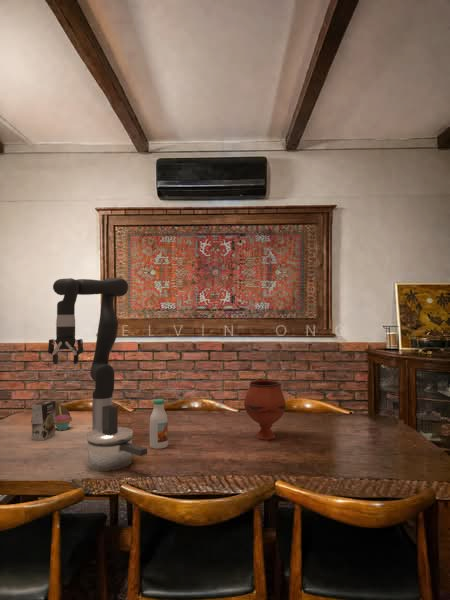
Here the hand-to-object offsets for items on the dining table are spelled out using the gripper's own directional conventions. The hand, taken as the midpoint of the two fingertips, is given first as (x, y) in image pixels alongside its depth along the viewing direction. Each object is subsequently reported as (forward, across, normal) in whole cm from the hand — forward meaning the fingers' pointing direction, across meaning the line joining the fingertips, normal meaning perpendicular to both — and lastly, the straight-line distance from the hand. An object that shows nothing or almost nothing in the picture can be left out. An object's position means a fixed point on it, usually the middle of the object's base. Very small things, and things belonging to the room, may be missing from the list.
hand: (65, 363), depth 178 cm
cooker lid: (+26, -24, +14) cm, 38 cm away
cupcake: (+36, +16, -31) cm, 51 cm away
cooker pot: (+36, -29, +17) cm, 49 cm away
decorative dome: (+37, +30, -47) cm, 67 cm away
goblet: (+36, -84, -23) cm, 94 cm away
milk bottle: (+36, -38, -7) cm, 53 cm away
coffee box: (+36, +18, -17) cm, 44 cm away
